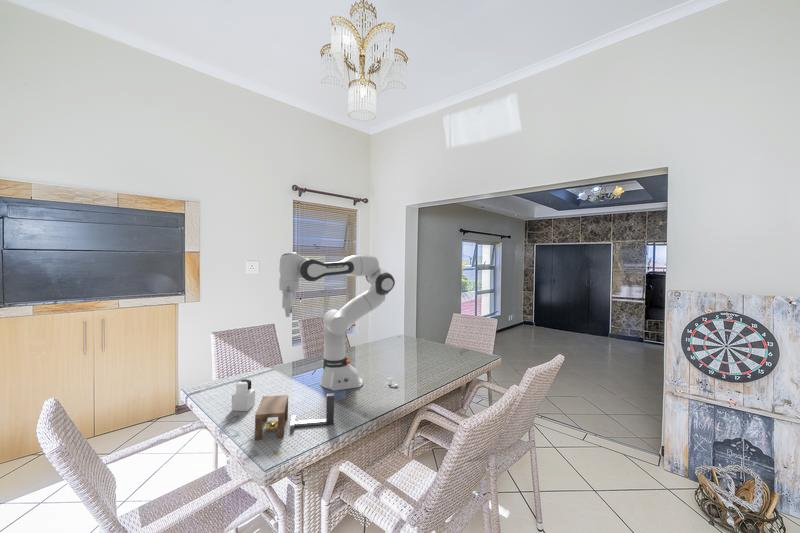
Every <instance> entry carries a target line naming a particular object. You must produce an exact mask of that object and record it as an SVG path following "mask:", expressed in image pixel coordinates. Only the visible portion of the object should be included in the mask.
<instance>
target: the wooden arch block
mask: <svg viewBox="0 0 800 533" xmlns="http://www.w3.org/2000/svg"><path fill="white" fill-rule="evenodd" d="M288 417H289V394H285V395H283V394H281V395H280V394H279V395H266V396H264V395H263V396H262V397H261V400H260V403H259V406H258V407H257V410H256V412H255V416H254V440H255V441H259V440H261V439H262V437H263V436H262V432H263V431H262V429H263V422H268V419H273V418H277V421H278V429H277V439H281V438H282V439H283V438H284V437H285V420H288Z"/></svg>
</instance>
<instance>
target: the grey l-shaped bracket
mask: <svg viewBox="0 0 800 533" xmlns="http://www.w3.org/2000/svg"><path fill="white" fill-rule="evenodd" d="M325 405H326V406H325V407H326V408H325V409H326V415H325V418H319V419H318V418H317V419H316V418H314V419H303V420H297V419H296V418H297V415H296V414H295V415H291V420H290V423H289V432H295V428H296V427H304V426H305V427H306V426H307V427H308V426H317V425H318V426H319V425H325V426H334V424H335V423H334V420H335V419H334V418H335V393H334V392H332V393H331V392H330V393H326V404H325Z"/></svg>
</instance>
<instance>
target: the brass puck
mask: <svg viewBox="0 0 800 533" xmlns="http://www.w3.org/2000/svg"><path fill="white" fill-rule="evenodd" d="M265 431H267V432H275V431H278V420H277V419H276V420H269V421H266V423H265Z"/></svg>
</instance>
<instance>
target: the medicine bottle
mask: <svg viewBox="0 0 800 533" xmlns="http://www.w3.org/2000/svg"><path fill="white" fill-rule="evenodd" d="M235 383H236V384H235V385H236V386H235V388H236V389H235V390H236V391H235V392H234V393H232V395H231V411H233V412H249V410H250V409H251V408H253V407H254V406H255V404H256V389H255V388H252V380H250V379H247V378H246V379H241V380H238V381H237V382H235Z"/></svg>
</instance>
